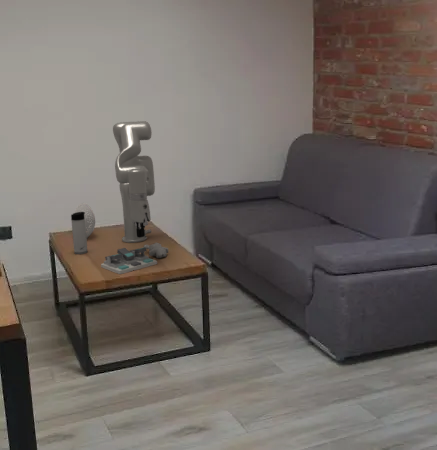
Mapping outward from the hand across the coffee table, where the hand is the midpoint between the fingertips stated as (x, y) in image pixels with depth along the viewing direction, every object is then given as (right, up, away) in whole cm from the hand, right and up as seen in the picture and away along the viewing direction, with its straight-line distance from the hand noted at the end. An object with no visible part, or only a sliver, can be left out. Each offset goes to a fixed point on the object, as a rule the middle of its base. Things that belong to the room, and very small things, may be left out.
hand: (140, 236), depth 311 cm
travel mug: (-31, -8, +23) cm, 40 cm away
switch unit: (-5, -13, 0) cm, 14 cm away
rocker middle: (-7, -8, 0) cm, 10 cm away
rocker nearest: (-2, -7, +4) cm, 8 cm away
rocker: (-12, -9, -4) cm, 15 cm away
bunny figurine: (+6, -9, +15) cm, 19 cm away
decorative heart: (-34, -1, +52) cm, 62 cm away
